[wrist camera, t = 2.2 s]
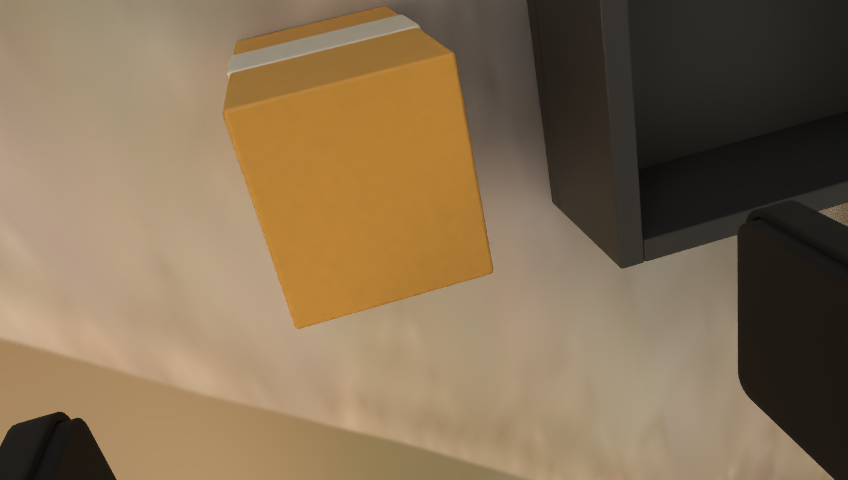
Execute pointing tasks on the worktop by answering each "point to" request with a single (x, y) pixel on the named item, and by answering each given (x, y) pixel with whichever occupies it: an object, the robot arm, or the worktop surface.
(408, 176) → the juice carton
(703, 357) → the worktop surface
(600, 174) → the basket
